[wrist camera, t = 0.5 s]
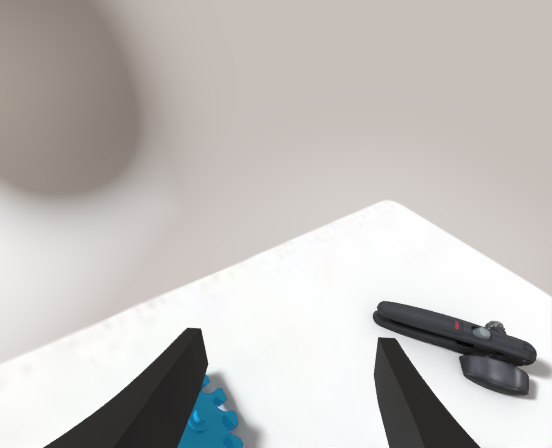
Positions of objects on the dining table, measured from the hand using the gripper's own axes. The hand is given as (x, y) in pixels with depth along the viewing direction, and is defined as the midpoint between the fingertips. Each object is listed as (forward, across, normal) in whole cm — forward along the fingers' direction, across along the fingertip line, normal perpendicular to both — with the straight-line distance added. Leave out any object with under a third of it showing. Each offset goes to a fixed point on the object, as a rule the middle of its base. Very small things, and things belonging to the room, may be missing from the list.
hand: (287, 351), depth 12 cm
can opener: (+21, -16, +20) cm, 33 cm away
